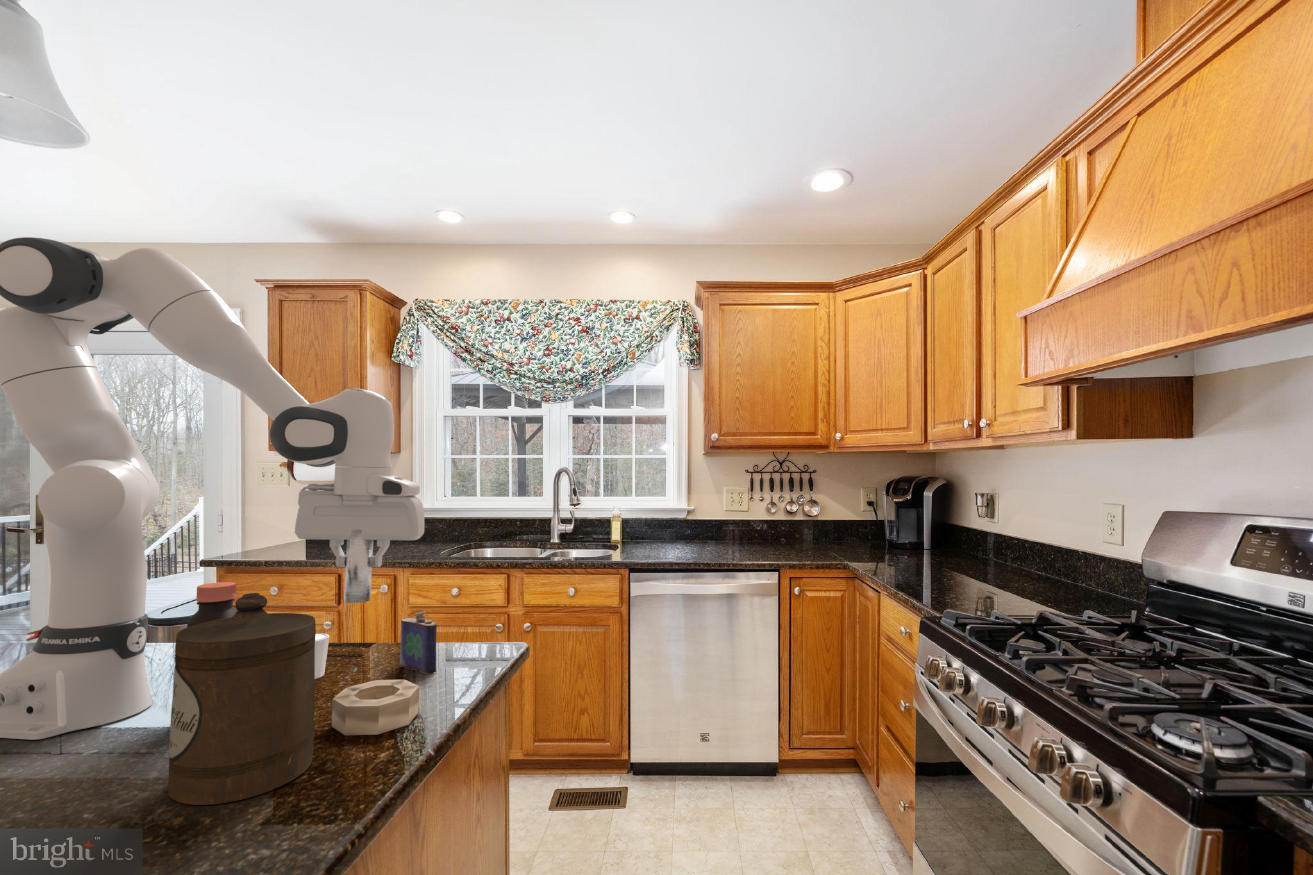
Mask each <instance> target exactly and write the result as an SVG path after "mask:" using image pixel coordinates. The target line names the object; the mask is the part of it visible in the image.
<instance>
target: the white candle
mask: <svg viewBox="0 0 1313 875" xmlns="http://www.w3.org/2000/svg"><path fill="white" fill-rule="evenodd" d="M361 531H362V530H352V532H351V538H350V539H349V540H347V541H346V554H345V555H346V567H345V575H344V591H343V592H344V593H343V602H344V603H347V604H359V603H367V602H370V601H371V597H372V596H371V594H372V593H371V592H372V576H373V575H372V573H373V567H369V563H370V561H369V558H370V557H371V556H374V540H364V539H363V538H362V536H361Z"/></svg>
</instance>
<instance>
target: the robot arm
mask: <svg viewBox="0 0 1313 875" xmlns="http://www.w3.org/2000/svg"><path fill="white" fill-rule="evenodd" d="M0 296H1V297H2V298H3V299H5V300H6V301H8V302H10V304H13V305H15V306H10V307H6V308H3V309H2V310H0V388H1V390H2V393H3V394H4V396H5V398H6V401H7V402H8V405H9V407H10V409H11V411H12V413H13V415H14V417H15V420H16V422H17V423H18V425H19V428H20V429H21V432H22V434H23V436H24V438H25V439H26V440H27V441H28V442H29V443H30V444H31V445H32V446H33V447H34V448H35V450H36V451H37V452H38V453H39V455H40V456H41V457H42V459H43V460H44V462H45V463H46V464H47V465H48V467H49V469H50V470H51V471H52V472H53V473H52V474H51V475H50V476H49V477H48V478H47V479H46V480H45V481H44V482H43V484H42V485H41V487H40V488H39V491H38V494H37V506H38V509H39V511H40V513H41V515H42V516H43V525H44V526H43V528H44V534H45V535H44V536H45V540H46V541H45V542H46V547H47V553H48V558H49V566H50V567H49V568H50V588H49V589H50V591H49V607H48V622H47V625H45V626H44V627H41V629H38V630H34V631H31V632H28V633H26V635H27V636H28V635H31V636H29V637H28V638H26V639H25V641H27V642H29V641H33V640H36V639H37V640H36V642H35V644H34V646H33V647H32V648H33V649H32V651H31V652H30V653H29V654H27V655H26V656H24V657H23V658H21V659H19V661H17V662H15V663H14V664H12V665H11V666H10V667H8V668H7V669H5V670H3V671H2V672H1V673H0V738H1V739H13V740H14V739H18V740H36V741H37V740H43V739H46V738H51V737H54V736H58V735H62V734H65V733H69V732H73V731H78V730H82V729H88V728H93V727H99V726H101V725H105V724H106V725H107V724H109V723H113V722H117V721H120V720H123V719H125V718H129V717H131V716H133V715H137V714H138V713H141V712H142V711H144V710H147V708H150V707H151V706H152V704H154V699H153V696H152V693H151V690H150V687H149V681H148V677H147V676H148V675H147V669H146V668H147V667H146V658H145V649H146V644H147V640H148V630H149V628H148V627H149V626H148V625H149V616H148V614H147V613H145V612H146V599H147V597H146V595H147V580H148V579H147V578H148V563H147V559H146V556H145V555H146V554H145V547H144V537H143V536H144V535H143V519H145V518H146V517H147V516H149V514H151V512H152V511H153V510H154V509H155V507H156V505H157V504H158V501H159V497H160V486H159V483H158V481H157V479H156V478H155V475H154V474H153V472H152V470H151V468H150V466H149V464H148V462H147V460H146V459H145V457H144V455H143V453H142V452H141V449H140V448H139V446H138V444H137V443H136V441H135V440H134V438H133V436H132V435H131V433H130V431H129V430H128V428H127V427H126V425H125V423H124V422H123V420H122V418H121V417H120V416H121V415H120V414H119V412H118V410H117V408H116V406H115V404H114V401H113V399H112V397H111V395H110V393H109V391H108V389H107V387H106V384H105V382H104V379H103V378H102V376H101V375H102V374H101V373H100V371H99V369H98V367H97V365H96V363H95V362H96V361H94V358H93V357H92V354H91V352H90V349H89V347H88V346H89V345H88V336H89V334H91V335H103V334H106V333H108V332H109V331H111V330H112V329H113V328H116V326H119V325H122V324H124V323H126V322H129V321H131V320H133V319H135V320H136V321H137V322H138V323H139V324H141V326H142V327H144V329H146V331H147V332H148V333H150V335H152V337H154V339H155V340H156V341H158V342H159V343H160V344H161V345H162V346H164V347H165V348H166V349H167V350H169V351H170V352H172V353H173V354H174V355H176V356H177V357H178V358H180V359H181V360H183V361H185V362H186V363H188V364H190V365H191V366H193V367H195V368H197V369H199V370H201V371H203V372H206V373H208V374H210V375H212V376H214V377H216V378H218V379H220V380H222V381H224V382H226V383H228V384H230V385H232V386H233V387H235V388H237V389H238V390H239V391H240V392H242V393H243V394H244V395H246V397H248V398H249V399H250V400H251V401H252V402H253V403H254V404H256V406H258V407H259V409H260V410H262V412H263V413H264V414H266V415H267V416H268V417H269V418H270V419H271V420H272V421H273V422H272V424H271V426H270V429H269V439H270V442H271V446H272V448H273V449H274V451H275V452H277V453H278V454H279V455H280V456H281V457H283V458H284V459H286V460H289V461H291V462H292V463H293V462H294V463H297V464H303V465H307V466H309V467H314V468H326V467H330V466H333V465H335V466H334V480H333V481H334V482H333V483H324V484H320V483H319V484H317V483H310V484H307V485H306V486H304V487H303V488H302V489H300V490H299V492H298V497H297V498H298V500H297V503H298V510H297V514H296V518H295V519H296V520H295V525H294V535H295V536H296V537H297V538H298V539H299V540H329V548H330V549H331V552H332V553H333V555H334V556H335V557H336V558H335V567H336V568H346V554H345V552H344V551H343V549H342V546H343V545H344V543H345V542H344V541H345V540H349V539H350V538H351V532H352V530H362V531H361V536H362V538H363V539H364V540H373V541H376V547H379V548H378V550H377V552H376V554H375V555H374V554H373V556H371V557H370V558H369V561H370V563H369V567H372V568H380V567H381V566H382V565H383V556H384V554H385V553H386V551H387V550H388V549H389V547H390V544H391V541H416V540H419V539H421V538H422V537H423V535H424V533H425V510H424V505H423V502H422V500H421V499H420V498H419V497H418V495H419V494H420V492H421V486H420V484H419V483H417V482H415V481H411V480H409V479H405V478H403V477H400V476H396V475H393V463H392V459H391V453H392V452H391V451H392V449H393V446H394V442H395V441H394V440H395V414H394V408H393V405H392V402H390V401H389V399H388V398H386V397H385V395H382V394H381V393H376V392H374V391H371V390H366V389H362V388H354V387H353V388H351V387H350V388H346V389H344V390H342V391H341V392H340V393H338V394H336V395H334V396H332V397H328V398H326V399H323V400H320V401H317V402H312V403H310V401H308V400H307V399H306V398H304V396H303V395H302V394H301V393H299V392H298V391H297V389H295V387H293V386H292V385H291V384H290V383H289V381H287V380H286V379H285V378H284V377H283V376H282V375H281V374H280V373H279V372H278V371H277V370H276V369H275V368H274V366H272V364H271V363H270V362H269V361H268V359H267V358H266V357H265V355H264V354H263V352H262V351H261V350H260V348H259V346H258V345H257V344H256V342H255V341H254V340H253V338H252V336H251V335H250V334H249V331H247V329H246V327H245V326H244V324H243V323H242V322H241V321H240V319H239V318H238V316H237V315H236V314H235V312H234V311H233V309H231V307H230V306H229V305H228V304H227V303H226V302H225V301H224V299H223V298H222V297H220V295H218V294H217V292H216V291H215V290H213V288H212V287H211V286H209V285H208V284H207V283H206V282H205V281H204V280H203V279H202V278H200V276H199V275H197V274H196V273H195V272H193V271H192V270H191V269H190V268H188V267H187V265H185V264H183V263H182V262H181V261H179V260H177V259H176V257H175V258H174V257H173V256H172V255H170V254H169V253H167V252H165V251H163V250H161V249H156V248H152V247H144V248H143V247H142V248H137V249H133V250H129V251H127V252H126V253H125V252H124V254H122V255H120V256H119V257H117V258H115V259H110V258H108V257H106V256H104V255H101V254H99V253H98V252H94V251H92V250H89V249H86V248H82V247H77V246H72V245H69V244H67V243H64V242H61V241H58V240H54V239H49V238H41V237H26V236H25V237H24V236H23V237H14V238H11V239H7V240H6V241H4V242H1V243H0ZM33 634H34V635H33ZM32 635H33V636H32Z"/></svg>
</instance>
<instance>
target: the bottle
mask: <svg viewBox="0 0 1313 875" xmlns="http://www.w3.org/2000/svg"><path fill="white" fill-rule="evenodd" d="M195 597H196V598H195V600H196V605H197V606H198V610H197V611H196V612H195V613H194V614H193V615H192V616H191V617H190V618H189V619H188V621H187V623H186V628H187V627H190V626H193V625H196V624H200V623H204V622H208V621H213V620H218V619H224V618H230V617H233V616H234V614H235V613H236V612H237V611H238V610H237V609H236V607H235V606H234V602H236V597H237V582H232V581H221V582H220V581H219V582H211V583H204V584H203V583H202V584H200V585H198V586H196V596H195Z"/></svg>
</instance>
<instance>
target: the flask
mask: <svg viewBox="0 0 1313 875" xmlns="http://www.w3.org/2000/svg"><path fill="white" fill-rule="evenodd" d="M426 613H427V612H426V611H425V610H424V611H419V612H414V616H415V618H413V617H412V618H408V617H407V618H403V619H401V621H400V623H401V624H400V626H401V627H400V628H401V629H400V635H401V636H400V654H399V667H401V668H402V667H404V668H403V669H408V670H409V669H411V670H410V671H412V670H415V671H416V672H417V671H419V672H420V673H422V674H425V675H432V674H435V673H437V627H438V626H437V622H433V621H432V620H431V619H428V618H427V617H426V616H425V615H424V614H426ZM434 672H435V673H434Z"/></svg>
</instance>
